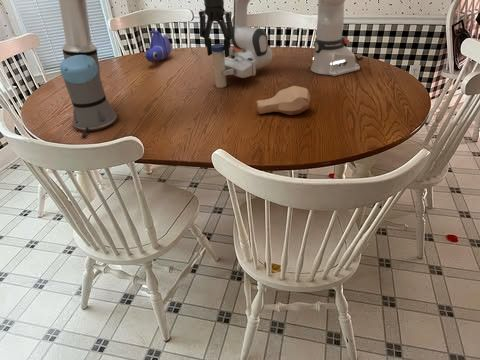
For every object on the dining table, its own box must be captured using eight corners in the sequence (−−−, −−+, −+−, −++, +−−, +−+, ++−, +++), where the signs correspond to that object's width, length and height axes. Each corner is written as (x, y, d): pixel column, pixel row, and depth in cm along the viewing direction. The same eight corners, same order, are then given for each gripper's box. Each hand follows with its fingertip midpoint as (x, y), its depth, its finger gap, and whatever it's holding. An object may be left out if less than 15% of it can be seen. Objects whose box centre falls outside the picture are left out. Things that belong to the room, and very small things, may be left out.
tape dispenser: (245, 69, 176) (265, 54, 189) (245, 58, 173) (265, 44, 185) (216, 62, 184) (237, 49, 196) (215, 52, 180) (236, 39, 193)
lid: (212, 48, 150) (212, 44, 149) (225, 47, 150) (225, 43, 149) (210, 52, 146) (210, 48, 145) (224, 51, 145) (223, 47, 144)
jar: (213, 86, 156) (209, 49, 147) (219, 83, 159) (216, 45, 150) (222, 88, 154) (219, 50, 144) (228, 84, 157) (226, 47, 148)
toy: (159, 62, 200) (139, 68, 178) (155, 30, 193) (133, 32, 171) (176, 61, 198) (157, 67, 176) (172, 29, 191) (151, 31, 169)
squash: (314, 116, 128) (313, 95, 122) (259, 125, 130) (256, 105, 124) (308, 99, 136) (307, 78, 129) (257, 108, 138) (253, 88, 131)
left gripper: (185, -4, 137) (193, 56, 150) (232, -3, 129) (236, 60, 142) (195, -8, 142) (202, 50, 156) (241, -7, 134) (244, 54, 148)
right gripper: (227, 52, 164) (203, 59, 157) (257, 61, 151) (232, 69, 144) (228, 65, 168) (205, 73, 161) (258, 75, 155) (233, 84, 148)
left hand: (218, 55), depth 149 cm, fingers open, 7 cm apart
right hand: (218, 71), depth 152 cm, fingers closed on jar, 5 cm apart
